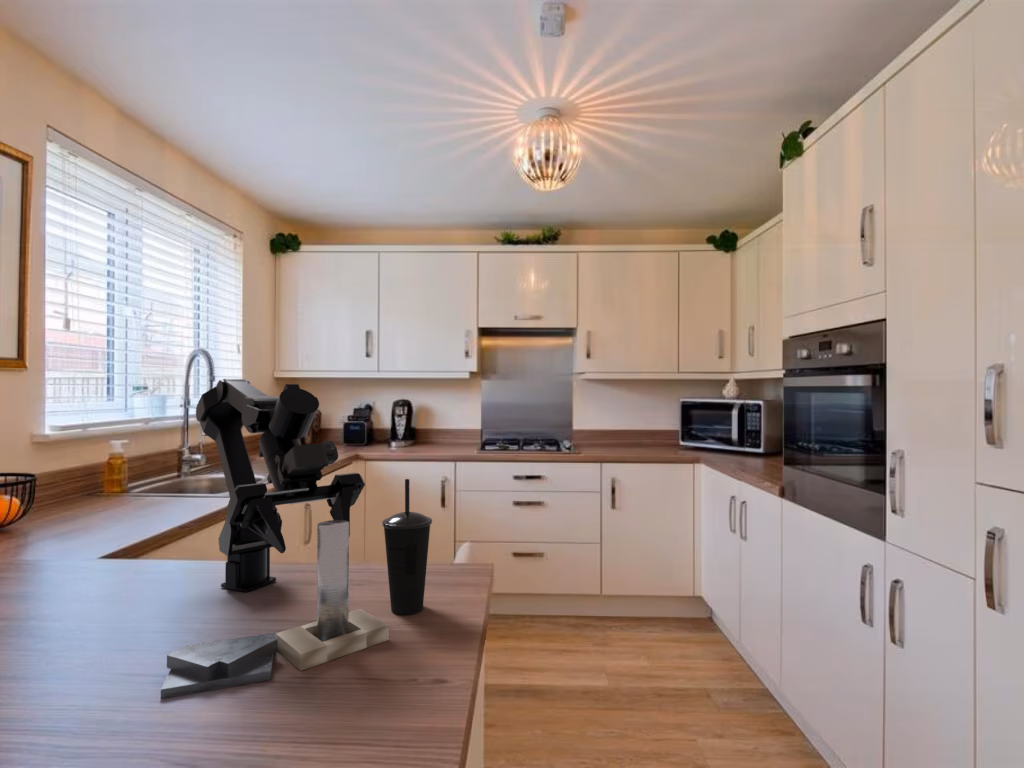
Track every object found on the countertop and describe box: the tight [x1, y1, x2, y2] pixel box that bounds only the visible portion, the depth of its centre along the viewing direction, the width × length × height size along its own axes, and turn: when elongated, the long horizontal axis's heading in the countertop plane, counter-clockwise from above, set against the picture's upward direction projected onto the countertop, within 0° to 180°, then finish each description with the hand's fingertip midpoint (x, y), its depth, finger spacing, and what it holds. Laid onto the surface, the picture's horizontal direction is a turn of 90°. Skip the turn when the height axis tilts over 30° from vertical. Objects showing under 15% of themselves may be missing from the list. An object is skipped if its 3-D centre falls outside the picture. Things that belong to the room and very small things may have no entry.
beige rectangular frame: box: [275, 608, 390, 672], centre depth 73 cm, size 12×8×2 cm, turn 134°
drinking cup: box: [381, 478, 433, 616], centre depth 85 cm, size 8×8×20 cm
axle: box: [316, 519, 350, 642], centre depth 73 cm, size 4×4×16 cm
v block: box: [160, 632, 279, 699], centre depth 67 cm, size 11×12×2 cm
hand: (316, 544), depth 76 cm, fingers open, 9 cm apart
